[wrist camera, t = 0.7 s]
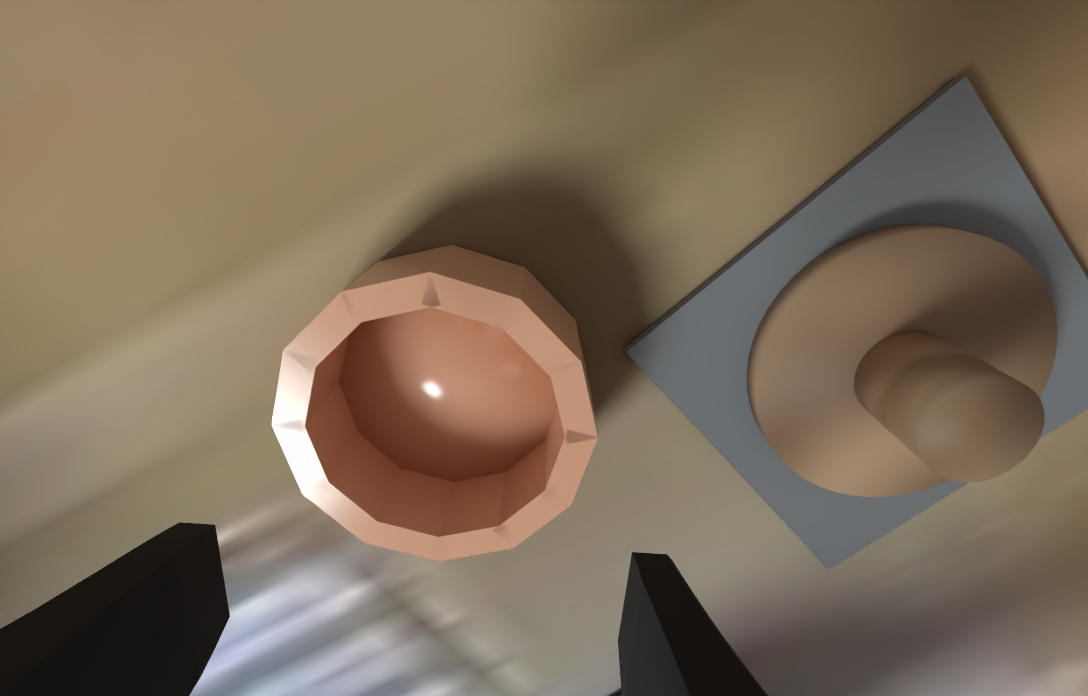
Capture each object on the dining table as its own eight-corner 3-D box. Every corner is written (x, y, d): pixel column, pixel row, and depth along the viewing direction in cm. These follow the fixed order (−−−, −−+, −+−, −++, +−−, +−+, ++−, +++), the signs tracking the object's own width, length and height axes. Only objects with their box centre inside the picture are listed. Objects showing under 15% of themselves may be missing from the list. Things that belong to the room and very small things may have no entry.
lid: (1080, 371, 19) (1232, 442, 15) (841, 522, 21) (913, 622, 17) (943, 157, 16) (1077, 169, 12) (691, 355, 19) (731, 422, 15)
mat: (1133, 368, 19) (1144, 373, 19) (823, 561, 22) (828, 569, 22) (956, 76, 16) (966, 75, 16) (624, 348, 19) (625, 352, 19)
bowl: (639, 387, 20) (657, 440, 16) (456, 531, 22) (440, 603, 19) (450, 188, 17) (427, 203, 14) (267, 372, 20) (211, 422, 16)
